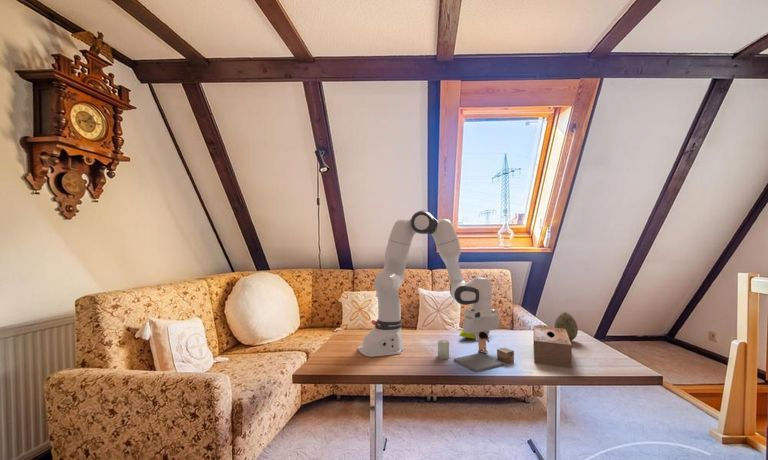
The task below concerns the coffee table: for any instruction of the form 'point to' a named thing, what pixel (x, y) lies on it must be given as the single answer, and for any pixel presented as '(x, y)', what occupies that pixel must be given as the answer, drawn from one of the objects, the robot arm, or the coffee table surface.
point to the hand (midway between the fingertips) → (481, 340)
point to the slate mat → (478, 362)
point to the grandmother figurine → (483, 342)
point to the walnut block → (505, 355)
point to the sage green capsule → (443, 349)
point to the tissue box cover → (552, 347)
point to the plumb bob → (467, 335)
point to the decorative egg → (567, 324)
